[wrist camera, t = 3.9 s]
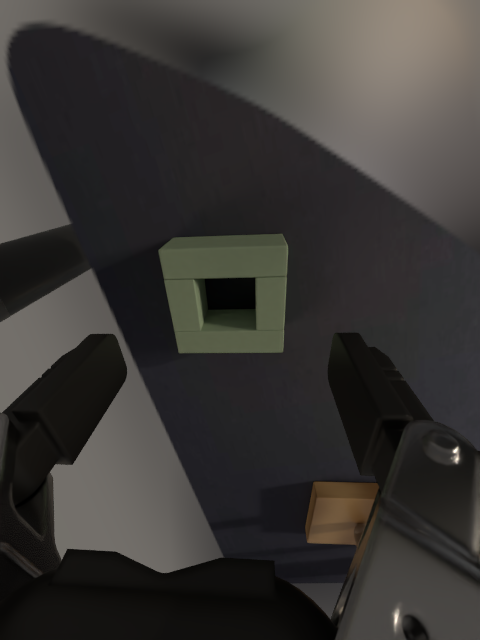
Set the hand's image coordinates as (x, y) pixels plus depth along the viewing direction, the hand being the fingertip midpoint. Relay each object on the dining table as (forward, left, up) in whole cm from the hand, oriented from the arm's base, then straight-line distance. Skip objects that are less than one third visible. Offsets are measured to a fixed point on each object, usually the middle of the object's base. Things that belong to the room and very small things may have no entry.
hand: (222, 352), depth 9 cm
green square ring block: (0, 0, -7) cm, 7 cm away
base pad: (+12, -26, -7) cm, 29 cm away
